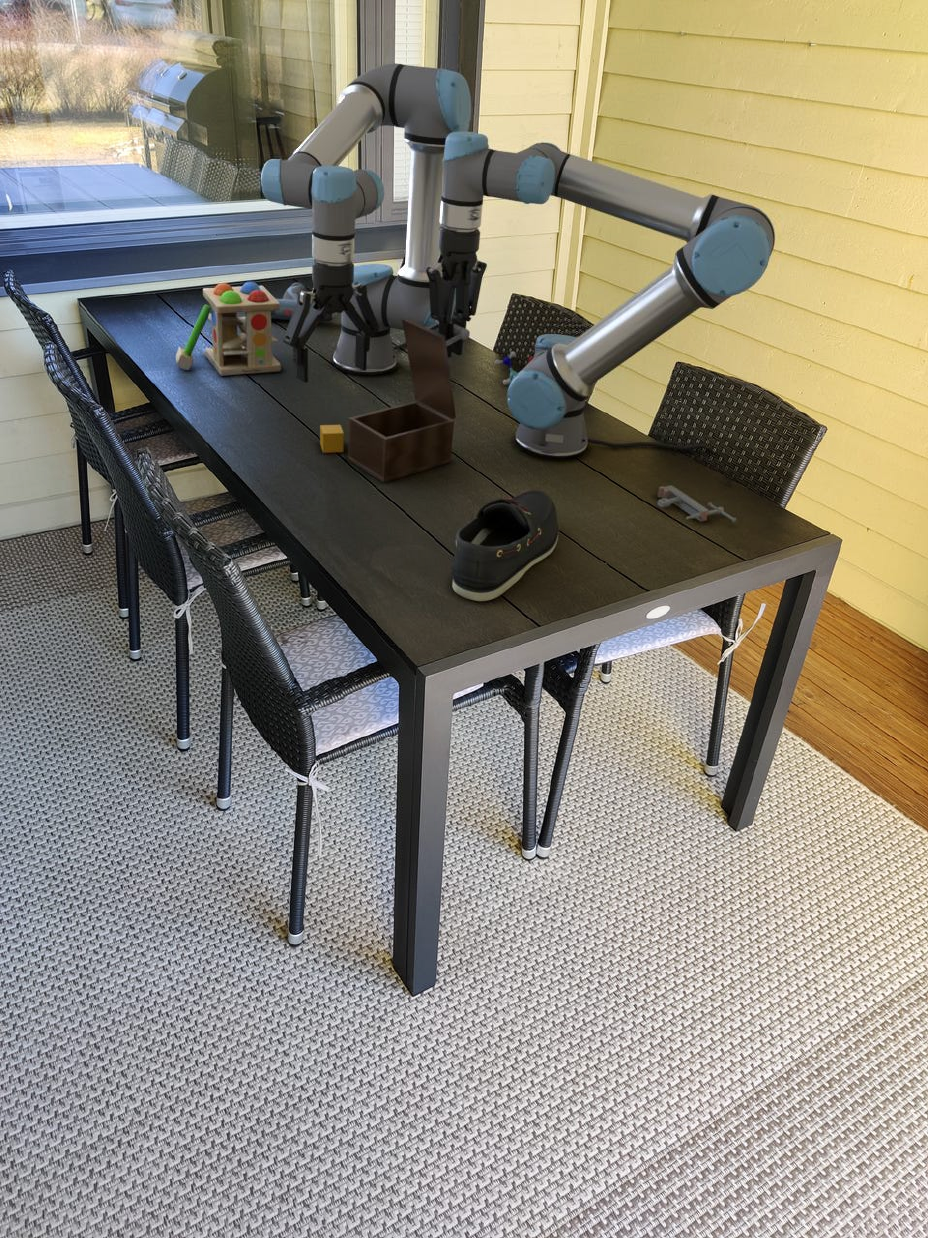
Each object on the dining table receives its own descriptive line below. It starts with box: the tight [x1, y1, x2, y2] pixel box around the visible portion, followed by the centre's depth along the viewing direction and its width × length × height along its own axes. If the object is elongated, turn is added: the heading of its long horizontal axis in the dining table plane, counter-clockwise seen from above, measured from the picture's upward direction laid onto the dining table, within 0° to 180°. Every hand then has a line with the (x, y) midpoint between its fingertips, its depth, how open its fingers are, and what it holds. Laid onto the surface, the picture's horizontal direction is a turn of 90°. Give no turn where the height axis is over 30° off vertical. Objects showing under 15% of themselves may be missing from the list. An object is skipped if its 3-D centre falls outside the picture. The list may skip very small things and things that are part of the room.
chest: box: [347, 400, 455, 483], centre depth 193 cm, size 17×12×9 cm
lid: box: [402, 318, 471, 420], centre depth 190 cm, size 18×12×8 cm
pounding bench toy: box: [174, 281, 282, 377], centre depth 225 cm, size 23×14×18 cm, turn 116°
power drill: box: [271, 282, 338, 322], centre depth 265 cm, size 5×19×20 cm
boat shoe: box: [450, 489, 559, 602], centre depth 165 cm, size 13×33×10 cm, turn 147°
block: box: [319, 424, 345, 454], centre depth 197 cm, size 4×4×4 cm
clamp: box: [656, 485, 738, 523], centre depth 187 cm, size 15×2×10 cm
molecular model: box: [494, 351, 534, 386], centre depth 232 cm, size 12×10×10 cm
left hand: (332, 374), depth 189 cm, fingers open, 13 cm apart
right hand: (450, 353), depth 191 cm, fingers closed on lid, 2 cm apart
